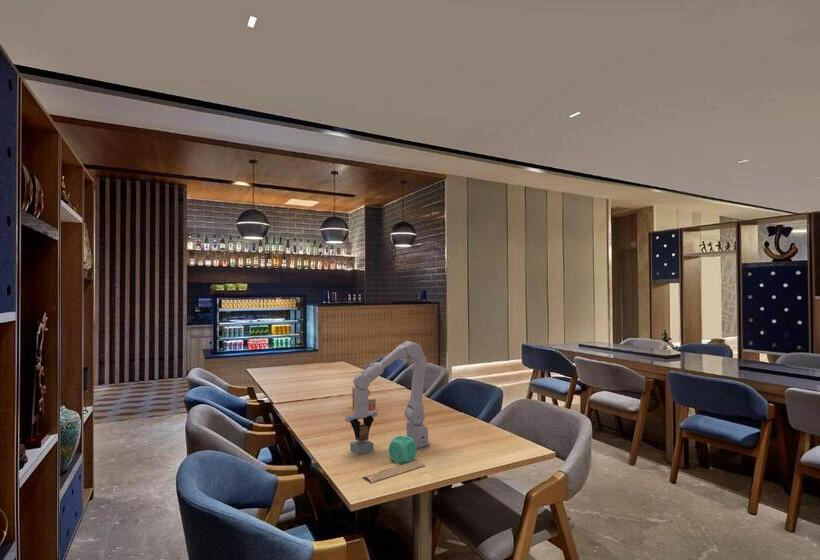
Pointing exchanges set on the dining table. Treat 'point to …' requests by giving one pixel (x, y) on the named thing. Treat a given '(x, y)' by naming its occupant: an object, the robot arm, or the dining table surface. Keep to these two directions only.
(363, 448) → the pedestal block
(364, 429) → the walnut block
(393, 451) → the decorative dice
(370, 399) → the stack of blocks
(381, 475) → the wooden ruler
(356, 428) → the robot arm
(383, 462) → the dining table surface
